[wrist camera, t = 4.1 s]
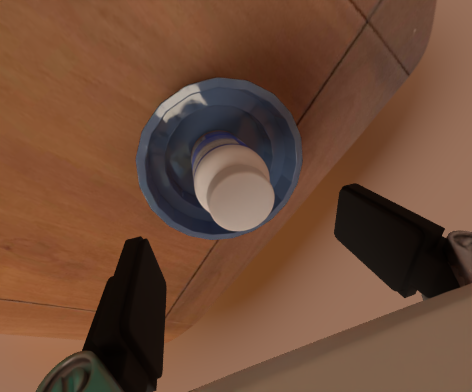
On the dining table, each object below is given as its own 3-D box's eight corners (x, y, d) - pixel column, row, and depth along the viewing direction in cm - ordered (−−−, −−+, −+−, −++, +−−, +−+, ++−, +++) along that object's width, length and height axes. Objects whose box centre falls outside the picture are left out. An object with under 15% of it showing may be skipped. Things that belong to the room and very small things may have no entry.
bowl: (299, 116, 21) (330, 123, 17) (248, 222, 26) (262, 249, 21) (167, 50, 16) (163, 36, 12) (132, 196, 21) (120, 224, 16)
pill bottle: (250, 170, 22) (294, 221, 13) (202, 190, 22) (217, 254, 13) (234, 119, 19) (278, 143, 11) (180, 141, 19) (180, 182, 10)
